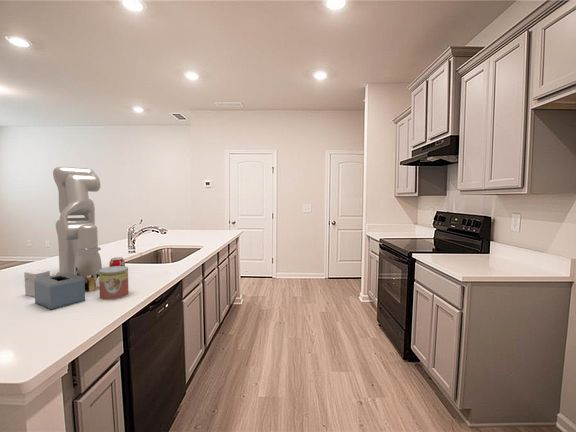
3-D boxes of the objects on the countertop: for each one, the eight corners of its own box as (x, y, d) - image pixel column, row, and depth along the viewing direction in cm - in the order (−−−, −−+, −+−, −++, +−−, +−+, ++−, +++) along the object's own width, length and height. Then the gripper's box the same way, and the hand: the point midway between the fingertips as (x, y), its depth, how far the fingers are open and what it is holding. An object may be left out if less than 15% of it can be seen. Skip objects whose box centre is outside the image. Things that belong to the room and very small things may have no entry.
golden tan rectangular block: (83, 289, 135) (83, 277, 134) (89, 288, 137) (88, 276, 136) (89, 291, 132) (89, 279, 132) (94, 290, 134) (94, 277, 134)
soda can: (118, 283, 145) (117, 260, 144) (106, 282, 146) (105, 259, 146) (128, 279, 152) (128, 257, 151) (117, 278, 153) (116, 256, 153)
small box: (51, 293, 129) (50, 270, 128) (36, 297, 123) (35, 274, 123) (39, 291, 131) (38, 269, 131) (25, 295, 126) (23, 272, 125)
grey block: (35, 302, 118) (34, 279, 117) (68, 294, 128) (67, 272, 127) (51, 310, 111) (50, 285, 110) (85, 300, 121) (84, 277, 121)
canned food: (97, 301, 121) (97, 273, 120) (101, 293, 131) (100, 267, 130) (128, 297, 126) (127, 270, 125) (129, 289, 136) (128, 265, 135)
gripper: (101, 248, 142) (102, 284, 143) (64, 253, 128) (65, 293, 130) (110, 249, 138) (111, 286, 140) (72, 255, 125) (74, 296, 126)
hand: (89, 289), depth 135 cm, fingers closed on golden tan rectangular block, 2 cm apart
